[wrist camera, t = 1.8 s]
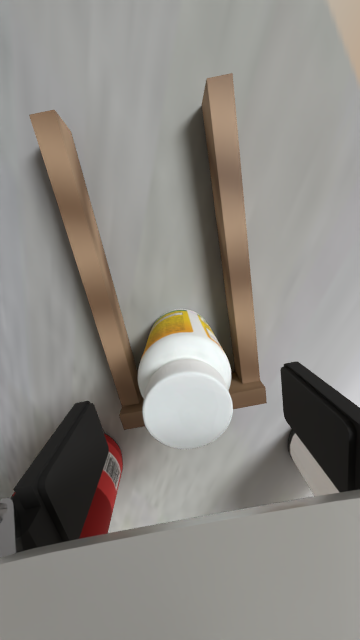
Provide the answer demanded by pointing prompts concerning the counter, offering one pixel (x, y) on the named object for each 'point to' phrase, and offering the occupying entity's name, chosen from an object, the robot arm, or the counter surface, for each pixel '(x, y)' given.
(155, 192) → the counter surface
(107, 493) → the canned food
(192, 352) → the supplement bottle
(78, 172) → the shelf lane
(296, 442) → the mug
